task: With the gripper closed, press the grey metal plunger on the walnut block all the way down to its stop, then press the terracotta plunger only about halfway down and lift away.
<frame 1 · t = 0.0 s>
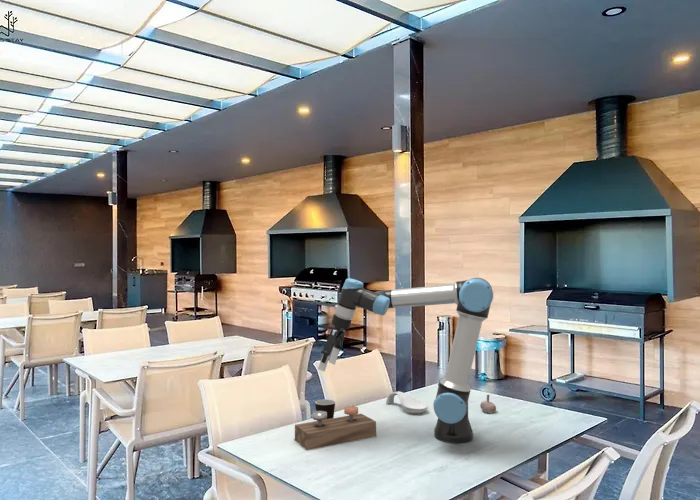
hand: (326, 366, 205), 28 cm above the table, tool tilted 20°, fingers open, 13 cm apart
coffee mug: (326, 425, 220), on the table
grey plunger: (319, 423, 200), point 7 cm above the table, slide at 0.0 cm
spoon rest: (405, 410, 242), on the table
button block: (335, 438, 203), on the table
terracotta plunger: (351, 417, 206), point 7 cm above the table, slide at 0.0 cm
garlic bulb: (488, 412, 238), on the table
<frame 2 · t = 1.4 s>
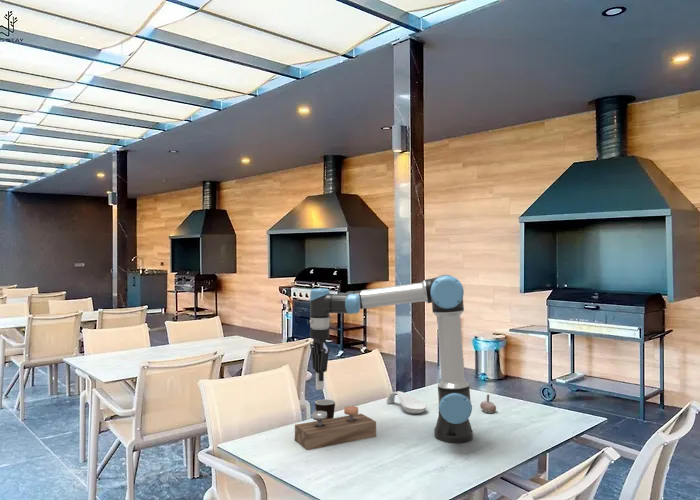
hand: (319, 388, 200), 20 cm above the table, tool pointing down, fingers closed
nothing on the table moved.
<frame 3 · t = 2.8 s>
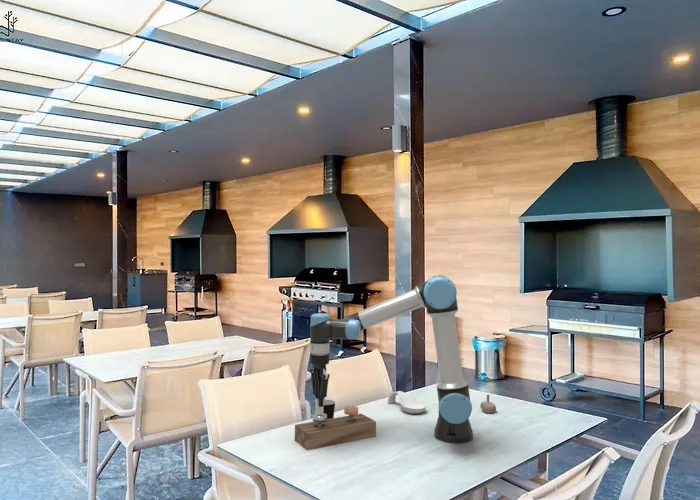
hand: (319, 414, 200), 10 cm above the table, tool pointing down, fingers closed
grey plunger: (319, 425, 200), point 6 cm above the table, slide at 0.8 cm, touching gripper
everything else where it was.
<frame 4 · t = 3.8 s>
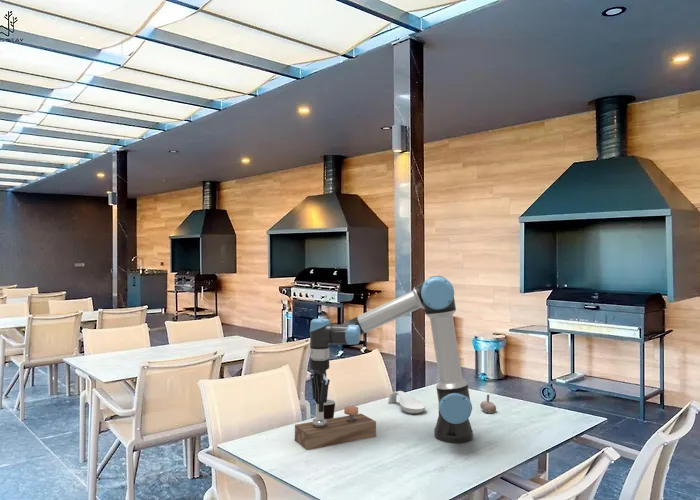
hand: (319, 419, 200), 8 cm above the table, tool pointing down, fingers closed
grey plunger: (319, 430, 200), point 4 cm above the table, slide at 2.8 cm, touching gripper
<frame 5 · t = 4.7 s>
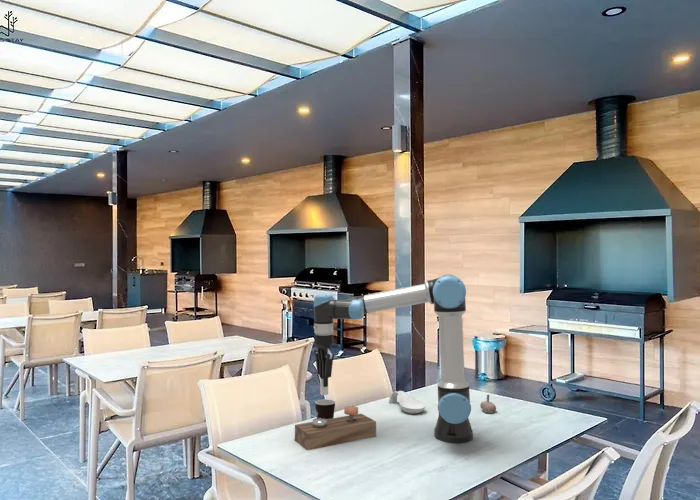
hand: (324, 394, 201), 18 cm above the table, tool pointing down, fingers closed
grey plunger: (319, 430, 200), point 4 cm above the table, slide at 2.8 cm
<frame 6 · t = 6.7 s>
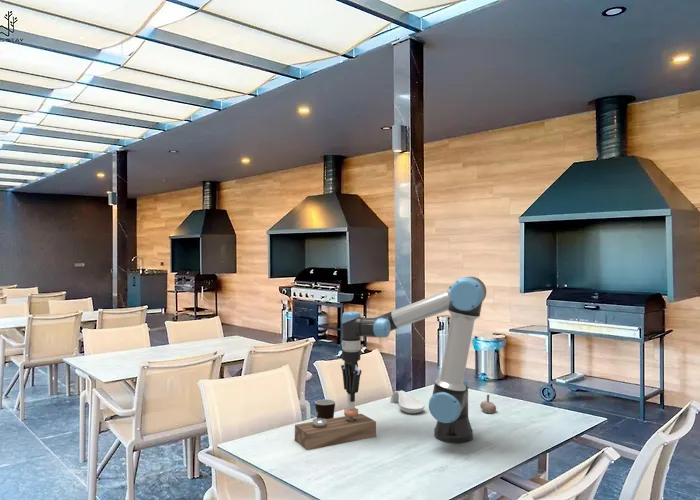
hand: (351, 409, 206), 11 cm above the table, tool pointing down, fingers closed
terracotta plunger: (351, 419, 206), point 6 cm above the table, slide at 0.7 cm, touching gripper
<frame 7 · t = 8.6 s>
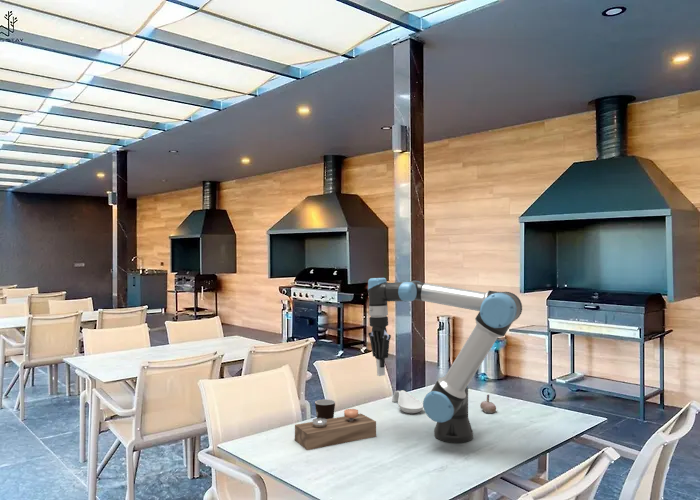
hand: (381, 375, 206), 24 cm above the table, tool pointing down, fingers closed
terracotta plunger: (351, 420, 206), point 6 cm above the table, slide at 1.2 cm
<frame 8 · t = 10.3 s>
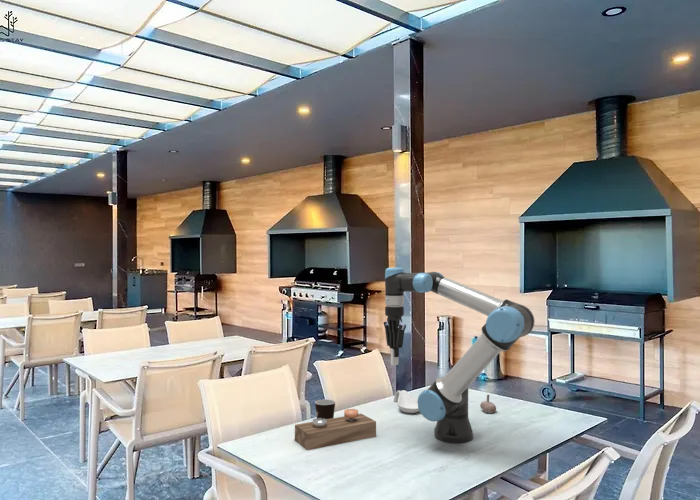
hand: (394, 364, 206), 28 cm above the table, tool pointing down, fingers closed
at the end: grey plunger slide at 2.8 cm; terracotta plunger slide at 1.2 cm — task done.
